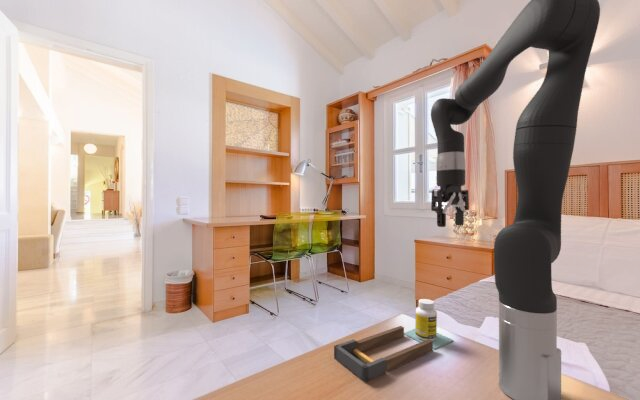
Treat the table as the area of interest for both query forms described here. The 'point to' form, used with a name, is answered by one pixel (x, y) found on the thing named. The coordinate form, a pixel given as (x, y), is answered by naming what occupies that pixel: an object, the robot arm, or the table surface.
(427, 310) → the supplement bottle
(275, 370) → the table surface
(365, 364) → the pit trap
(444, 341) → the pad
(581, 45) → the robot arm
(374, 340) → the chute
